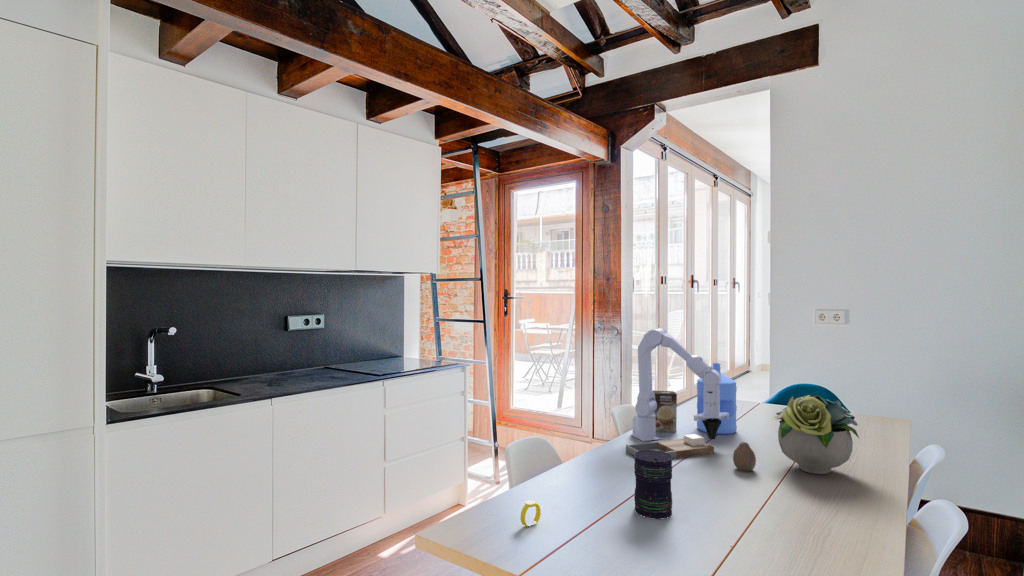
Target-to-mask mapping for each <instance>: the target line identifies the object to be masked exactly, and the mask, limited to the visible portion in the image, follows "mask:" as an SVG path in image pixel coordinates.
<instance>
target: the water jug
mask: <svg viewBox="0 0 1024 576" xmlns="http://www.w3.org/2000/svg"><path fill="white" fill-rule="evenodd" d="M711 364H712V367H713V369H715V370H717V371H718V372H719V374H720V376H721V380H720V382H719V383H718V384H719V387H720V388H719V390H720V412H726V413H729V418H728V419H727V418H722V419H719V420H721V425H720V426H719V428H718V430H717V433H716V435H732V434H735V433H736V432H737V389H738V388H737V381H735V380H734V379H732V378H730V377H729V376H726V375H724V374H722V372H721V363H719V362H717V363H716V362H712V363H711ZM696 389H697V390H696V391H697V393H696V394H697V397H696V398H697V399H696V400H697V401H696V409H697V411H696V415H698V414H702V413H704V408H703V405H704V404H703V402H704V384H703V382H702V378H699V377H698V379H697V382H696ZM696 428H697V429H698V430H699V431H701V432H703V433H707V431H706V428H705V426H704V424H703V422H702V421H696Z"/></svg>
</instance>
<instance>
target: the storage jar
mask: <svg viewBox="0 0 1024 576" xmlns="http://www.w3.org/2000/svg"><path fill="white" fill-rule="evenodd" d="M672 461H673V459H672V456H671V455H670V454H668V453H665V452H661V451H655V450H642V451H638V452H636V453H635V457H634V466H633V467H634V468H633V469H634V476H635V488H634V496H633V497H634V499H633V500H634V512H635V511H636V512H637V513H638V514H637V513H636V512H635V513H636V514H637V515H639V514H640V515H642V516H641V517H643V516H645V517H644V518H646V517H649V518H648V519H650V518H655V519H654V520H662V519H661V518H665V519H667V517H668V518H670V517H671V516H672V515H673V511H672V508H673V492H672V479H673V462H672ZM640 515H639V516H640Z"/></svg>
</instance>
